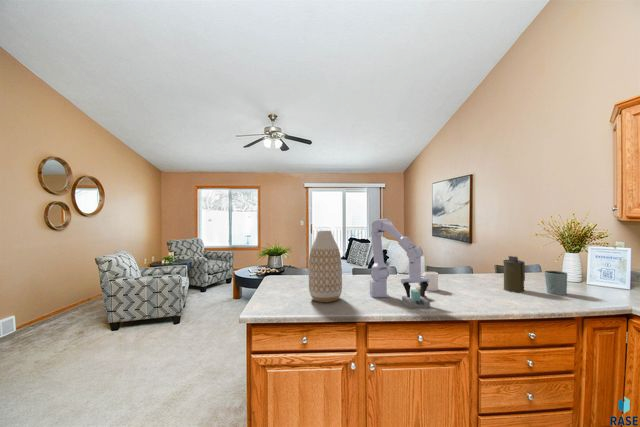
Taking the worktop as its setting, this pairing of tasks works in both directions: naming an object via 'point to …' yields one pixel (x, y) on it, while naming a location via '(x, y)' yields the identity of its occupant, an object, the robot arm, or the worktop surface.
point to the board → (411, 303)
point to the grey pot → (556, 282)
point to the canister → (514, 275)
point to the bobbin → (420, 291)
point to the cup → (431, 280)
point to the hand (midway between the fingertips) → (415, 296)
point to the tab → (415, 296)
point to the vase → (325, 268)
